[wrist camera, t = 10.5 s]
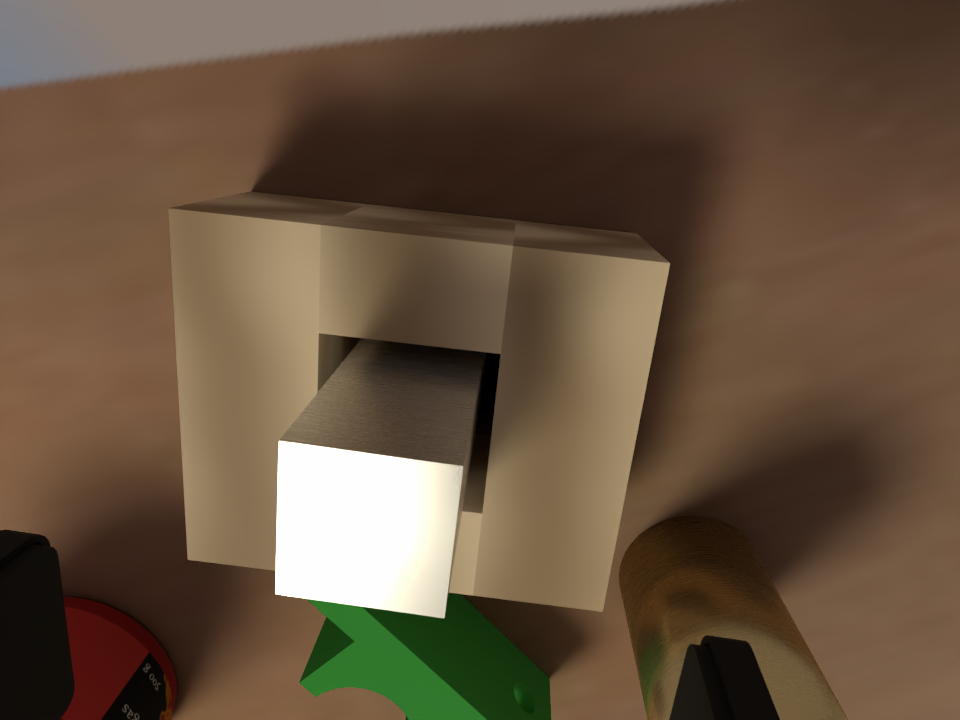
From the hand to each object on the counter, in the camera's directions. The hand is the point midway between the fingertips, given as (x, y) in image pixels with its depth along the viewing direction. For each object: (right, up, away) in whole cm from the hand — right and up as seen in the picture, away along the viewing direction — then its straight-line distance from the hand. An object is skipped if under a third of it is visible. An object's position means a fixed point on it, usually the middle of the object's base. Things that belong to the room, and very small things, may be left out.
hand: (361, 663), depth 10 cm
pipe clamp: (-1, -5, +16) cm, 17 cm away
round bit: (+9, -3, +14) cm, 17 cm away
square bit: (0, +4, +12) cm, 13 cm away
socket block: (0, +4, +12) cm, 13 cm away
